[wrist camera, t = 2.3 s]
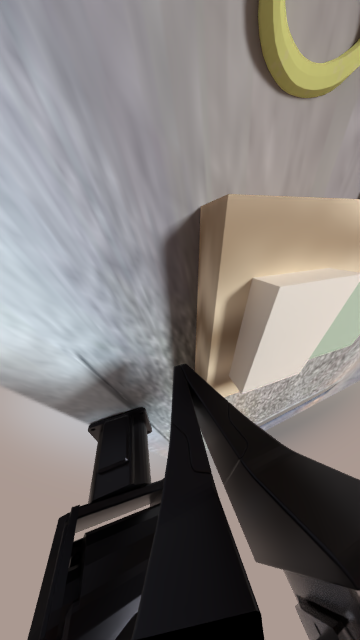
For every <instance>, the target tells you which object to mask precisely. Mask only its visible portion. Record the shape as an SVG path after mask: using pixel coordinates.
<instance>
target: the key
mask: <svg viewBox="0 0 360 640" xmlns="http://www.w3.org/2000/svg"><path fill="white" fill-rule="evenodd" d="M258 25H259V37H260V42H261V47H262V52H263V57H264V60H265V62H266V65H267V67H268V70H269V71H270V73H271V75H272V77H273V78H274V80H275V82H276V83H277V84H278V85H279V86H280V87H281V89H282V90H284V91H285V92H287V93H288V94H290V95H293V96H296V97H302V98H312V97H318V96H322V95H325V94H327V93H329V92H330V91H332V90H333V89H335V88H336V87H337V86H339V85H340V84H341V83H342V82H343V81H344V80H345V79H346V78H347V77H348V76H349V75H350V74H351V73H352V72H353V71H354V70H355V69H356V68H357V67H358V66H359V65H360V38H359V40H358V41H357V43H356V44H355V45H354V46H352V47H351V48H350V49H349V50H348V51H346V52H345V53H344V54H342V55H341V56H339V57H338V58H336V59H334V60H331V61H328V62H325V63H314V62H311V61H309V60H308V59H306V58H305V57H304V56H303V55H302V54H301V53H300V52H299V50H298V48H297V47H296V45H295V43H294V41H293V39H292V36H291V34H290V31H289V28H288V24H287V19H286V8H285V0H259V7H258Z"/></svg>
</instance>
